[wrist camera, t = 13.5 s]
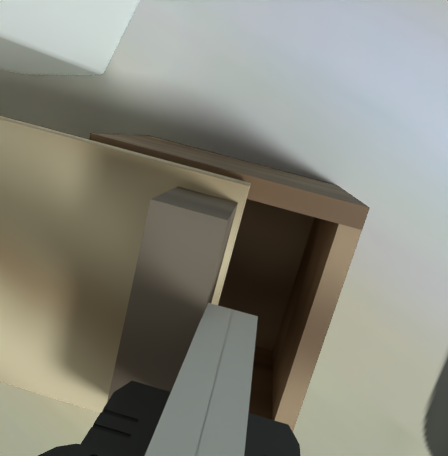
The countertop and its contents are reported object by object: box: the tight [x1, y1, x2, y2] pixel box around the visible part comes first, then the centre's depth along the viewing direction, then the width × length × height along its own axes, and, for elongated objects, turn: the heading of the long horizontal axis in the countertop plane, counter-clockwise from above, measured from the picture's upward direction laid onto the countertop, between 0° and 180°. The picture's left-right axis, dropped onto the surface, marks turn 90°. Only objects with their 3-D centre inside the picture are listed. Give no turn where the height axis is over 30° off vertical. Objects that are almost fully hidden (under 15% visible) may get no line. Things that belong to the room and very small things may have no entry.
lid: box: [0, 116, 251, 413], centre depth 13 cm, size 10×10×4 cm
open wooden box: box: [89, 133, 369, 432], centre depth 19 cm, size 10×10×7 cm
